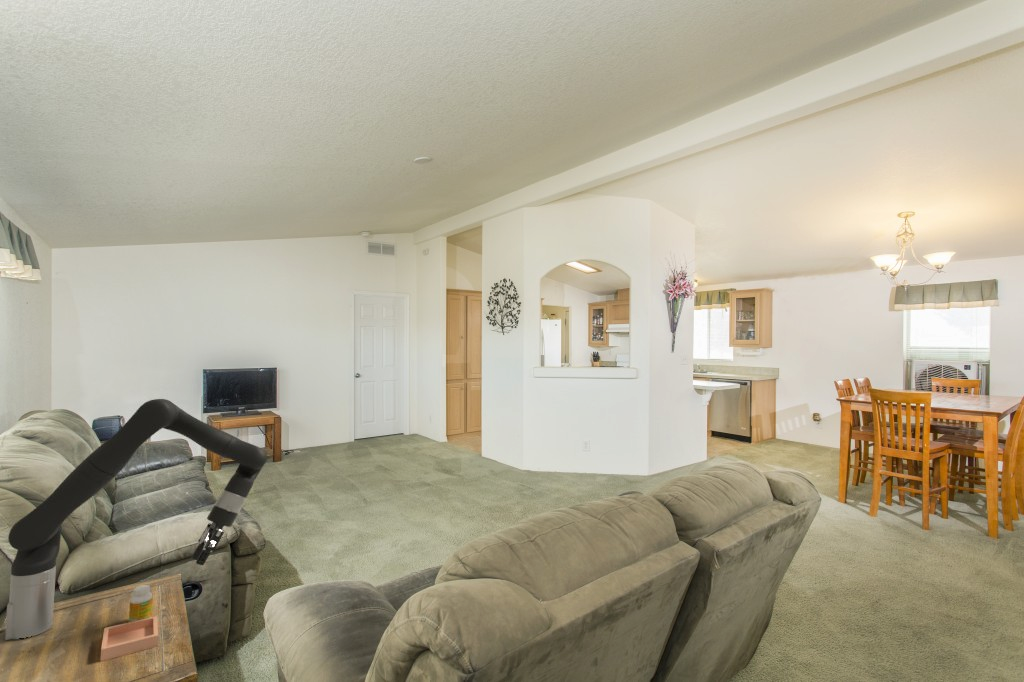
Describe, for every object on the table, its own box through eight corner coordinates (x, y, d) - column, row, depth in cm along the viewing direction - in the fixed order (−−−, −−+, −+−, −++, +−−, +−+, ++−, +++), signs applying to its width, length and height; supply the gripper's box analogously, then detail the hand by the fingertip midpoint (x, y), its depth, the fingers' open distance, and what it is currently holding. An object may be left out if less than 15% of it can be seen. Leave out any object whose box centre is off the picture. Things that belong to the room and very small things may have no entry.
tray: (100, 661, 127) (101, 649, 128) (103, 639, 137) (104, 628, 137) (157, 646, 135) (158, 635, 135) (156, 626, 144) (157, 615, 144)
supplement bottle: (139, 627, 144) (140, 593, 144) (123, 624, 145) (125, 590, 145) (155, 617, 149) (157, 584, 149) (141, 615, 150) (142, 582, 150)
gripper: (211, 502, 159) (180, 554, 152) (219, 506, 148) (187, 562, 141) (233, 510, 163) (205, 561, 156) (243, 514, 152) (213, 569, 145)
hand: (196, 561), depth 148 cm, fingers open, 8 cm apart
